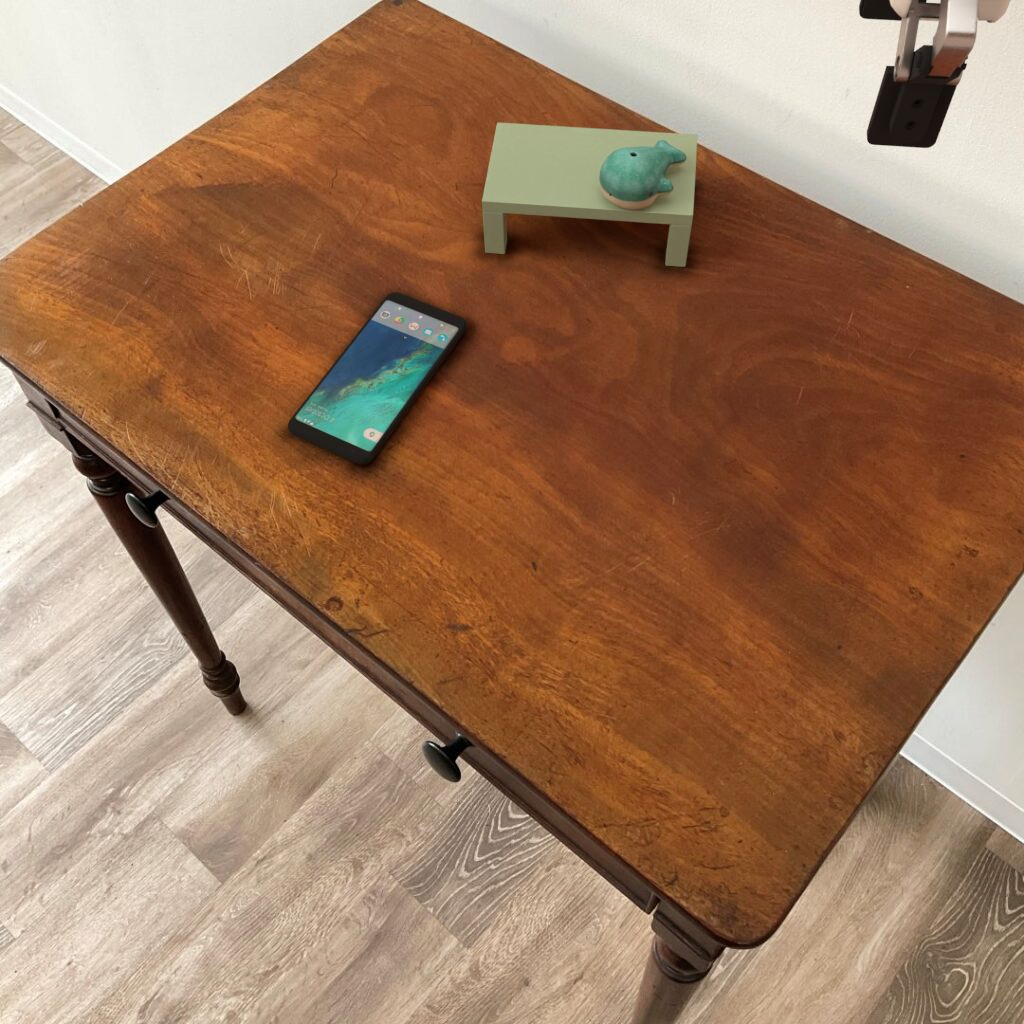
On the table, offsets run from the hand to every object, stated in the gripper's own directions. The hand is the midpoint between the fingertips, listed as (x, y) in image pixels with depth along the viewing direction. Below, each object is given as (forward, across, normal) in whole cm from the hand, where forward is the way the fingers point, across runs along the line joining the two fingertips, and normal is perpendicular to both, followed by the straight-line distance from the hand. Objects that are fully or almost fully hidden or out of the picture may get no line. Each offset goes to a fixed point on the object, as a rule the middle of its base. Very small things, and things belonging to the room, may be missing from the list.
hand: (893, 76), depth 56 cm
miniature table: (+28, +18, +16) cm, 37 cm away
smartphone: (+28, 0, +30) cm, 41 cm away
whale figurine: (+23, +16, +12) cm, 31 cm away
